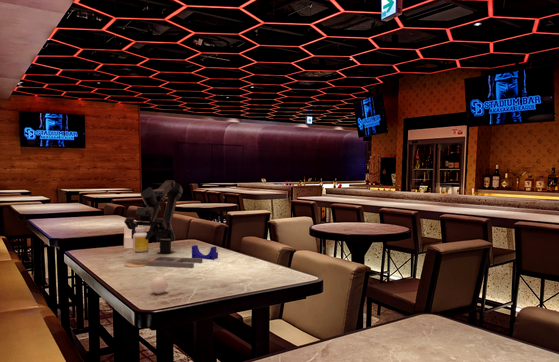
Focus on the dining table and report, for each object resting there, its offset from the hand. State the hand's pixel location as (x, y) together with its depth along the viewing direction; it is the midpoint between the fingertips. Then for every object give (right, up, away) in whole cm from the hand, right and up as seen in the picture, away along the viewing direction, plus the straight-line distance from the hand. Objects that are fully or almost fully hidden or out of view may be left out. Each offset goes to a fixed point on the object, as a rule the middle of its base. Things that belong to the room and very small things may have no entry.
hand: (139, 238), depth 178 cm
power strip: (+16, -12, +3) cm, 20 cm away
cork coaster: (-1, -12, +2) cm, 12 cm away
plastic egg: (+22, -12, -42) cm, 49 cm away
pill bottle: (0, -7, +1) cm, 7 cm away
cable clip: (+26, -12, +17) cm, 33 cm away
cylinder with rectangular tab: (-20, -11, +46) cm, 51 cm away
